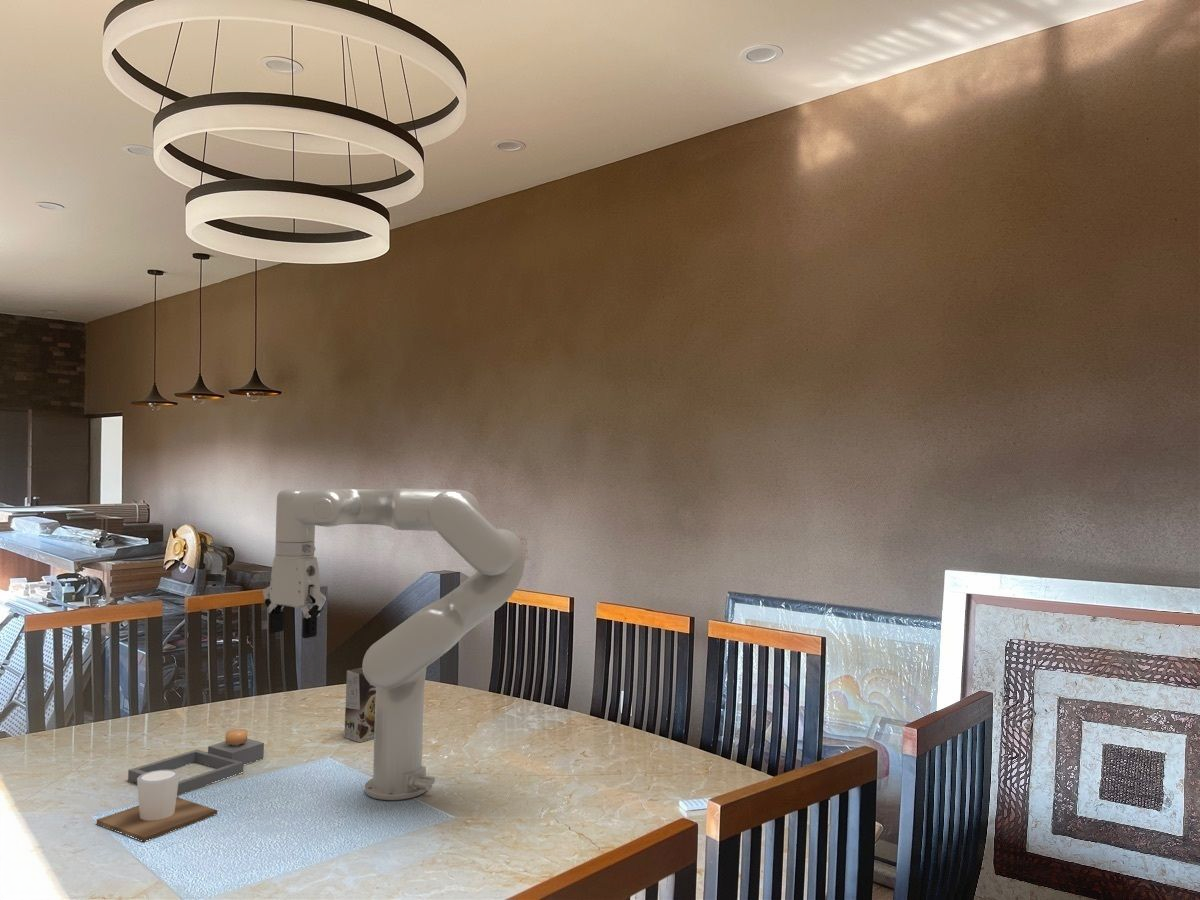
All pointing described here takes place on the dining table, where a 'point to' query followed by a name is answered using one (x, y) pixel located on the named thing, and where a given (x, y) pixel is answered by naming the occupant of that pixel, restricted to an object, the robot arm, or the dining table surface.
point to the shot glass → (157, 794)
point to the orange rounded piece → (236, 737)
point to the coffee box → (359, 707)
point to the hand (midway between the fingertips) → (292, 634)
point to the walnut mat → (146, 829)
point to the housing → (207, 763)
